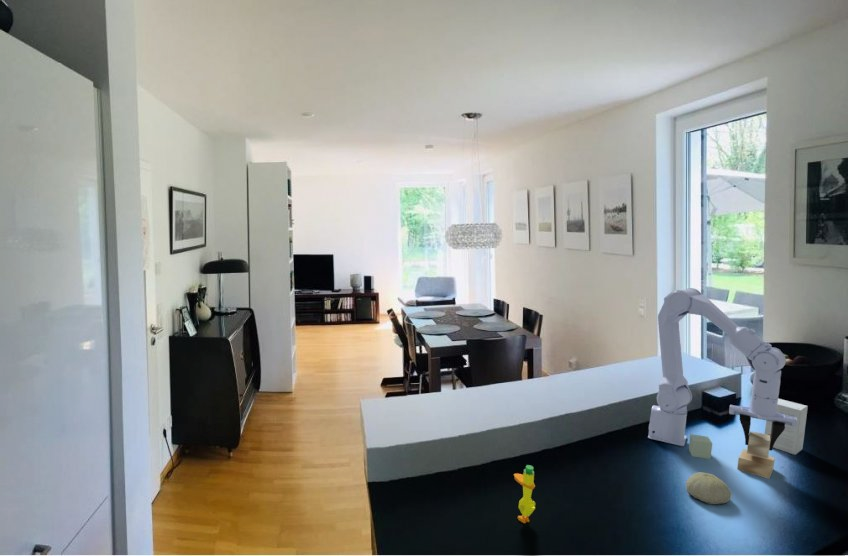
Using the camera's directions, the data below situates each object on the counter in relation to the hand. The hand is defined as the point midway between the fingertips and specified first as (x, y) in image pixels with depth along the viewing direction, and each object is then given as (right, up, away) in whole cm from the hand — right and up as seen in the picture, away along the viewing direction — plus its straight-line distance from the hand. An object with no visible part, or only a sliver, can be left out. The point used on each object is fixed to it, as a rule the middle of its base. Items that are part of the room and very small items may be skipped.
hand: (758, 446), depth 135 cm
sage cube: (-11, -5, +8) cm, 14 cm away
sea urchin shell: (-21, -7, -14) cm, 26 cm away
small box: (+17, -5, +15) cm, 23 cm away
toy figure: (-66, -7, -26) cm, 71 cm away
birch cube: (0, -2, 0) cm, 2 cm away
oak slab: (0, -7, +1) cm, 6 cm away
